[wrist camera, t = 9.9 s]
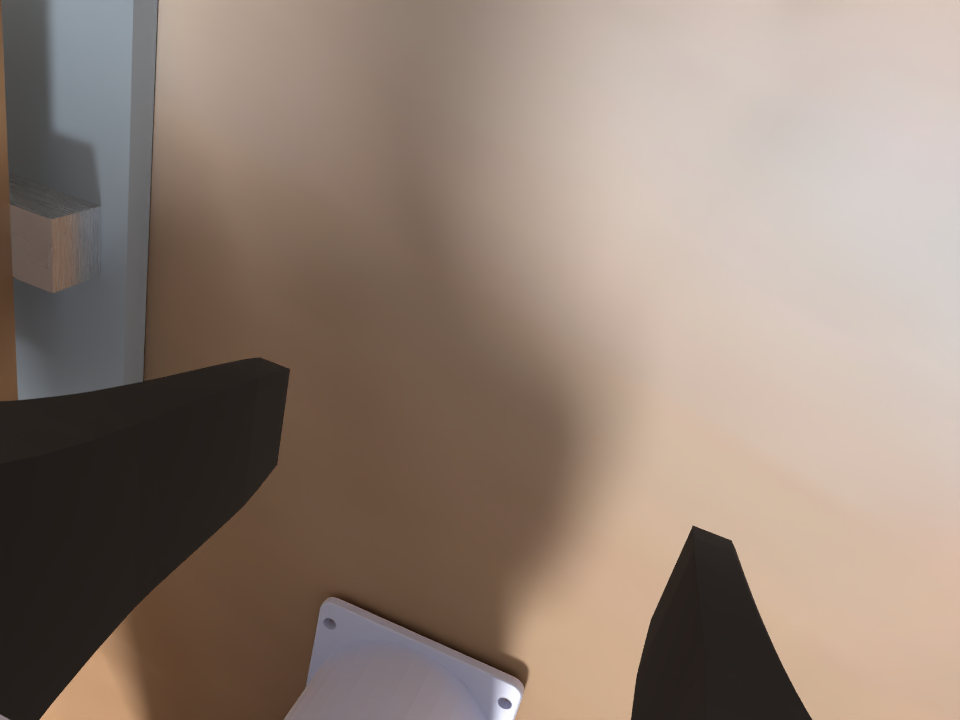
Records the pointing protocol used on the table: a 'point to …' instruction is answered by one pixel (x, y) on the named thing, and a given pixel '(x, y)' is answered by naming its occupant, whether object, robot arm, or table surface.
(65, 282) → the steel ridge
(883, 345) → the table surface
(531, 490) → the table surface
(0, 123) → the walnut plank
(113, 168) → the blue-grey flat rectangular panel
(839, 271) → the table surface
